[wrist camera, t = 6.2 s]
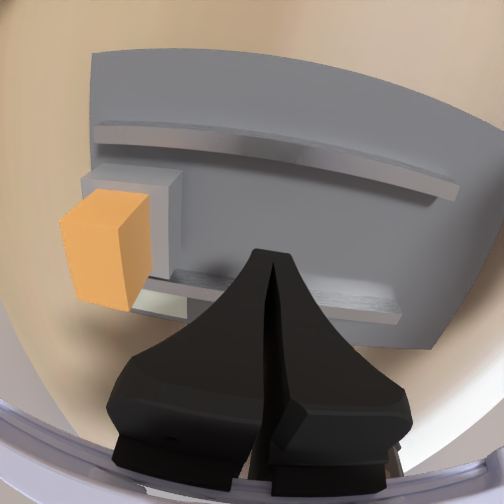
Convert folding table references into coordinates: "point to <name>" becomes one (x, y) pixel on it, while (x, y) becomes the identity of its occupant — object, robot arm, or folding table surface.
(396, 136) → the board
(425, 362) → the folding table surface
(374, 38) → the folding table surface
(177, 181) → the handle
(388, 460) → the robot arm
